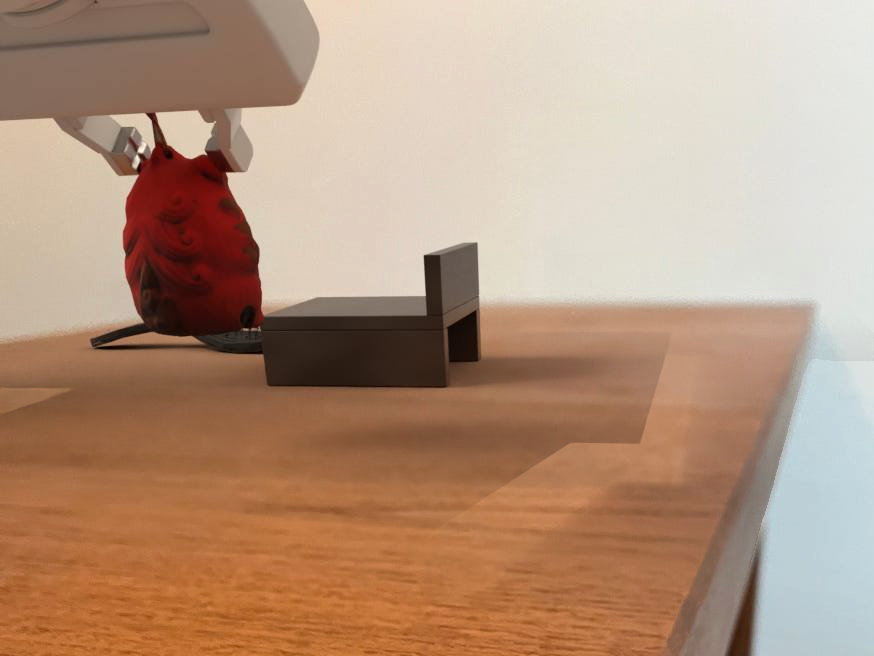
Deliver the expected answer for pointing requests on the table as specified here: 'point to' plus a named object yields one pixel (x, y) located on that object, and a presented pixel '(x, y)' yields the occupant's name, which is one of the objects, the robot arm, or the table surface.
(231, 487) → the table surface
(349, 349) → the brown miniature bench
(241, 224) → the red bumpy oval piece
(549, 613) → the table surface
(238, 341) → the hairbrush
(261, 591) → the table surface
